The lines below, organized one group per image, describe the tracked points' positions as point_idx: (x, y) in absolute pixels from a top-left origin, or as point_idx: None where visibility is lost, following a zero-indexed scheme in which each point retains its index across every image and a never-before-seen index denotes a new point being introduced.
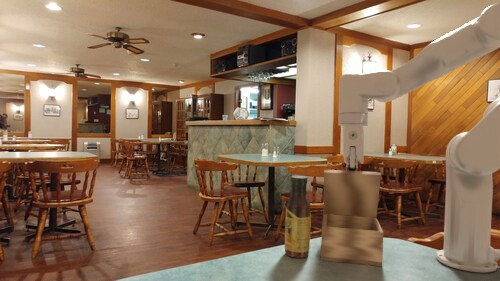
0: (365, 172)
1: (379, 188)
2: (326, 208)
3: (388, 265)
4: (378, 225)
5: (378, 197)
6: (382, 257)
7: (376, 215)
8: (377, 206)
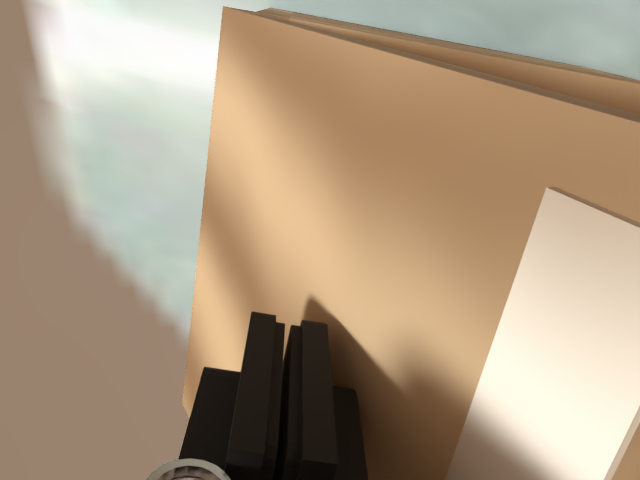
0: (628, 458)
1: (500, 77)
2: None
3: (570, 26)
4: (515, 74)
5: (394, 49)
6: (605, 72)
7: (263, 14)
8: (319, 29)
